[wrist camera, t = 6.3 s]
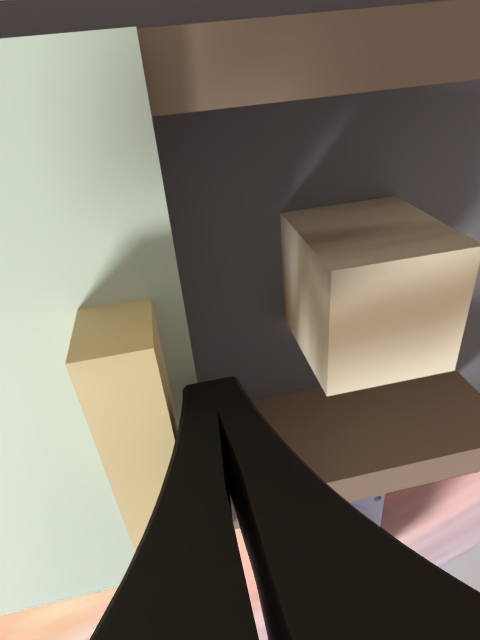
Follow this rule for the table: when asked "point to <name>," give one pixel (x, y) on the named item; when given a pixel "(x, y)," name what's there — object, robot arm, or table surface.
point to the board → (307, 194)
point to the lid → (82, 315)
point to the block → (375, 291)
